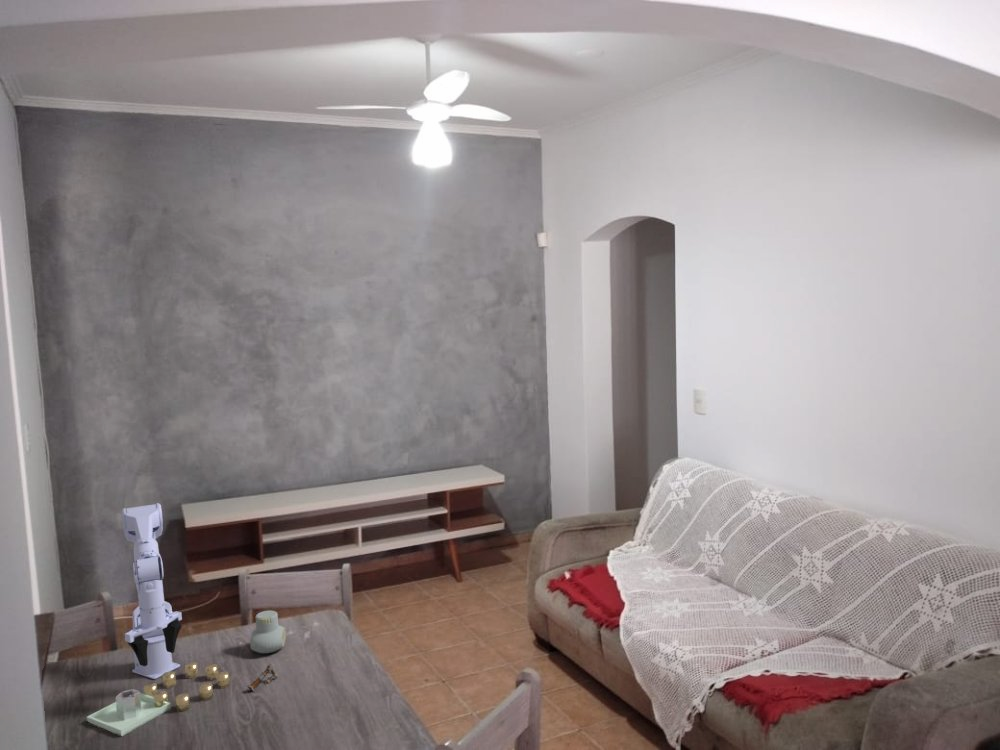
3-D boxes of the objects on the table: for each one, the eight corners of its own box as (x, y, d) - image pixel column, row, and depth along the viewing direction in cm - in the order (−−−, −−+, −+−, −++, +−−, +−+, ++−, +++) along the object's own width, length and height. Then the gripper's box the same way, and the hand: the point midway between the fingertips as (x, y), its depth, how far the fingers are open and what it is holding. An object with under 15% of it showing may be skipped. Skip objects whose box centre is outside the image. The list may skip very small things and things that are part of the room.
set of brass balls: (134, 700, 195) (132, 689, 195) (195, 668, 210) (194, 657, 210) (179, 716, 186) (178, 704, 186) (239, 682, 202) (238, 671, 201)
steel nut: (114, 716, 187) (111, 696, 187) (131, 707, 191) (129, 687, 190) (127, 721, 185) (125, 701, 184) (145, 712, 188) (142, 692, 188)
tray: (87, 722, 186) (86, 716, 186) (137, 696, 197) (136, 691, 197) (121, 736, 179) (120, 730, 179) (171, 708, 190) (170, 702, 190)
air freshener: (257, 641, 225) (254, 607, 224) (287, 638, 226) (284, 605, 225) (250, 659, 214) (246, 624, 213) (281, 656, 215) (278, 621, 214)
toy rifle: (281, 674, 203) (274, 662, 201) (258, 699, 198) (250, 686, 196) (277, 673, 204) (270, 660, 202) (254, 697, 199) (246, 685, 197)
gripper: (135, 619, 187) (141, 674, 188) (187, 597, 199) (192, 649, 201) (117, 614, 190) (123, 668, 192) (169, 593, 203) (174, 643, 204)
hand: (157, 658), depth 196 cm, fingers open, 7 cm apart
